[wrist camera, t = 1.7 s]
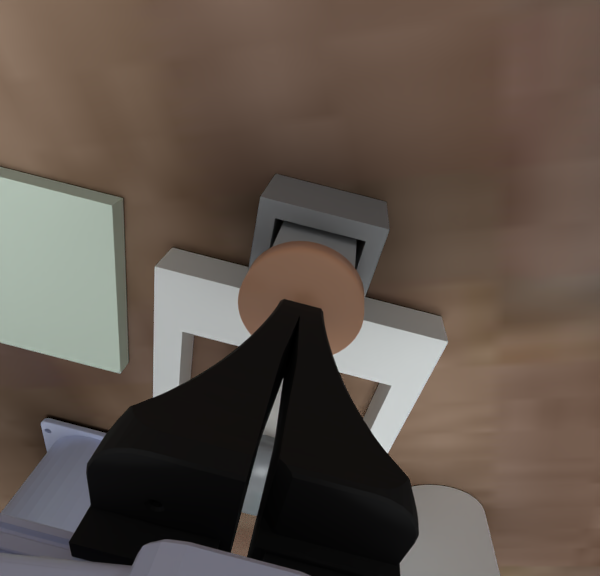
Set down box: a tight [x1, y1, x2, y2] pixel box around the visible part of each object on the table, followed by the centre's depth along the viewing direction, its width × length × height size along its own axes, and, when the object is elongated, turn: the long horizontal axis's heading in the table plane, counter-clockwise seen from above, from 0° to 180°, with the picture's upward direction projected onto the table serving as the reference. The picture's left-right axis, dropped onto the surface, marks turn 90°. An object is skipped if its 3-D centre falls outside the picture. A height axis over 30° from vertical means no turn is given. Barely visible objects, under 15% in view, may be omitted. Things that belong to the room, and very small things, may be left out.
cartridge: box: [241, 380, 283, 516], centre depth 21 cm, size 5×5×7 cm
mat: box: [0, 167, 129, 374], centre depth 22 cm, size 11×11×1 cm
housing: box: [153, 174, 448, 454], centre depth 21 cm, size 18×14×3 cm
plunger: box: [238, 221, 364, 355], centre depth 16 cm, size 4×4×4 cm
